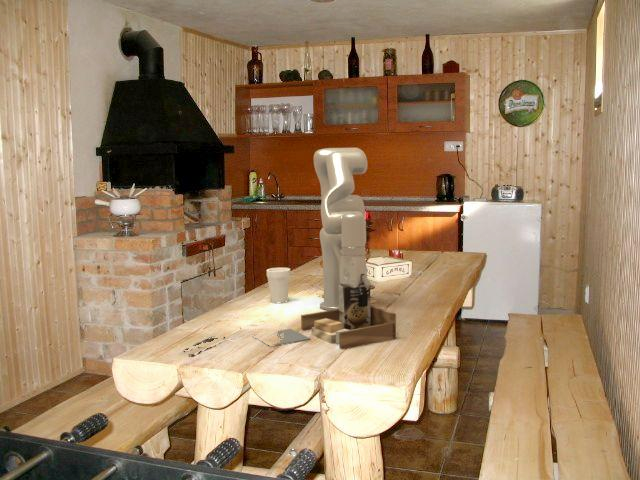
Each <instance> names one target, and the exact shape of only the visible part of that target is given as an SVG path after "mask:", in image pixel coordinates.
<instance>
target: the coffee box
mask: <svg viewBox="0 0 640 480" xmlns="http://www.w3.org/2000/svg"><path fill="white" fill-rule="evenodd" d="M362 289H363V288H361V290H362ZM358 295H360V294H359V292H358V290H357V287H356V288H351V287H350V286H347V285H342V284H339V322H342V323H343V329H348V330H353V329H358V328H364V327H369V326H371V314H370V305H371V286H370V287H369V291H368V294H367V297H368V306H365V307H359V306H358Z"/></svg>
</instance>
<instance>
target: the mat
mask: <svg viewBox="0 0 640 480" xmlns="http://www.w3.org/2000/svg"><path fill="white" fill-rule="evenodd" d="M277 331H278V332H277V333H278V334H277V336H278V335H279V336H278V338H279V337H280V339H283V340H280V343H277V344H275V345H279V346H282V345H281V344H285V345H287V344H286V343H290V344H292V343H291V342H295V343H300V341H301V342H306V341H310V340H311V338H310V337H309V336H306V335H304V334H302V333H300V332H298V331H297V330H294V329H293V328H287V329H281V330H277ZM282 333H284V334H283V335H284V338H281V336H280V334H282ZM253 335H254V336H255V335H256V334H253ZM283 335H282V336H283ZM273 345H274V344H273Z"/></svg>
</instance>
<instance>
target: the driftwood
mask: <svg viewBox="0 0 640 480" xmlns="http://www.w3.org/2000/svg"><path fill="white" fill-rule="evenodd" d="M212 337H215V336H214V335H213V336H209V337H207V338H205V339H203V340H201V341H199V342H196V343H194V344H192V346H196V345H199V344H201V343H202V342H203V343H206V342H211V341H213V340H214V339H218V338H212ZM209 338H210V339H209ZM188 349H189V347H188V348H187V347H186V348H185V349H184V350H188ZM189 355H192V356H194V353H189Z"/></svg>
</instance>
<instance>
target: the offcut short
mask: <svg viewBox="0 0 640 480" xmlns="http://www.w3.org/2000/svg"><path fill="white" fill-rule="evenodd" d="M314 329H317V330H321V331H324V332H328V333H334V332H336V331H339V330H342V329H343V323H342V322H339V321H335V320H331V319H327V318H325V319H321V320H317V321H314Z"/></svg>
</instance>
